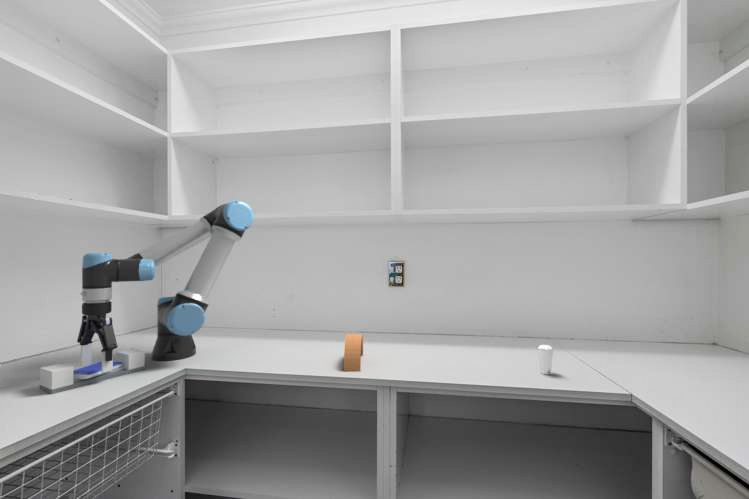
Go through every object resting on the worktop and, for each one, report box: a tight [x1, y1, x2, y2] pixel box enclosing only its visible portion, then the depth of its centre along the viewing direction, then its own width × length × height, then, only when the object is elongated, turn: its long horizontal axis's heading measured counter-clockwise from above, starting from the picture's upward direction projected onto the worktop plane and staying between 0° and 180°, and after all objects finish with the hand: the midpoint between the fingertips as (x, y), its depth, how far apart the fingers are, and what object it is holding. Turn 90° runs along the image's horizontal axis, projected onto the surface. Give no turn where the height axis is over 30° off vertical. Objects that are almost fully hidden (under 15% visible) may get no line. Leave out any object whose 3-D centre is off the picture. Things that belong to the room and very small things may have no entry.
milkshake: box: [537, 344, 555, 376], centre depth 118 cm, size 4×5×10 cm
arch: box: [343, 334, 364, 372], centre depth 131 cm, size 6×20×10 cm, turn 179°
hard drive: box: [73, 361, 123, 379], centre depth 114 cm, size 2×8×12 cm
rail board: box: [39, 348, 146, 395], centre depth 114 cm, size 25×8×6 cm, turn 151°
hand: (96, 368), depth 114 cm, fingers open, 13 cm apart
